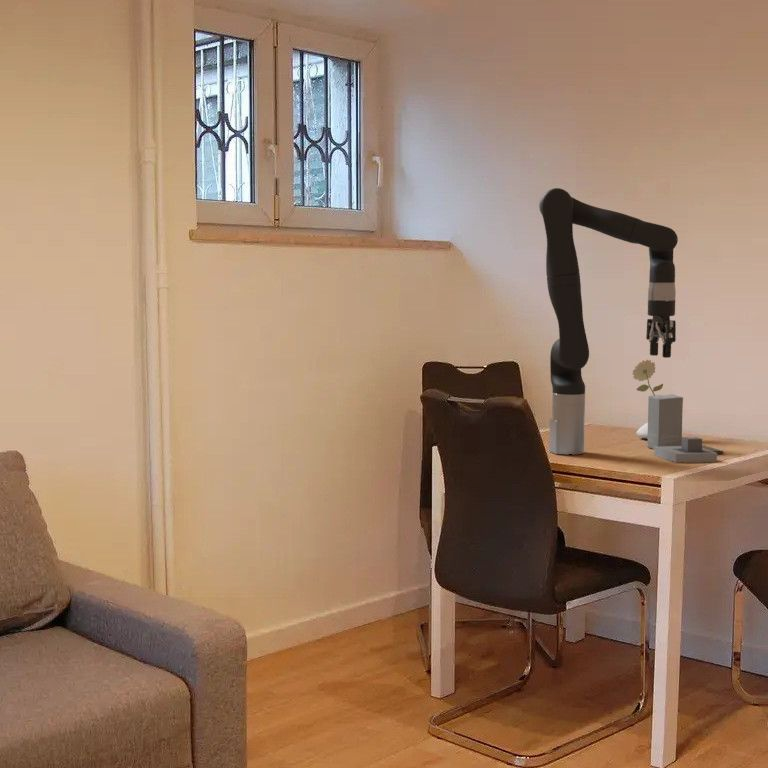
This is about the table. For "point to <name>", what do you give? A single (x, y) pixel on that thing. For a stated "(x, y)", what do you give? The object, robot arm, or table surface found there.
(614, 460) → the table surface
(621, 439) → the table surface
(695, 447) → the block
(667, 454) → the outlet plate
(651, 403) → the skincare box
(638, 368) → the flower in vase
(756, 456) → the table surface
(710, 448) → the phone
